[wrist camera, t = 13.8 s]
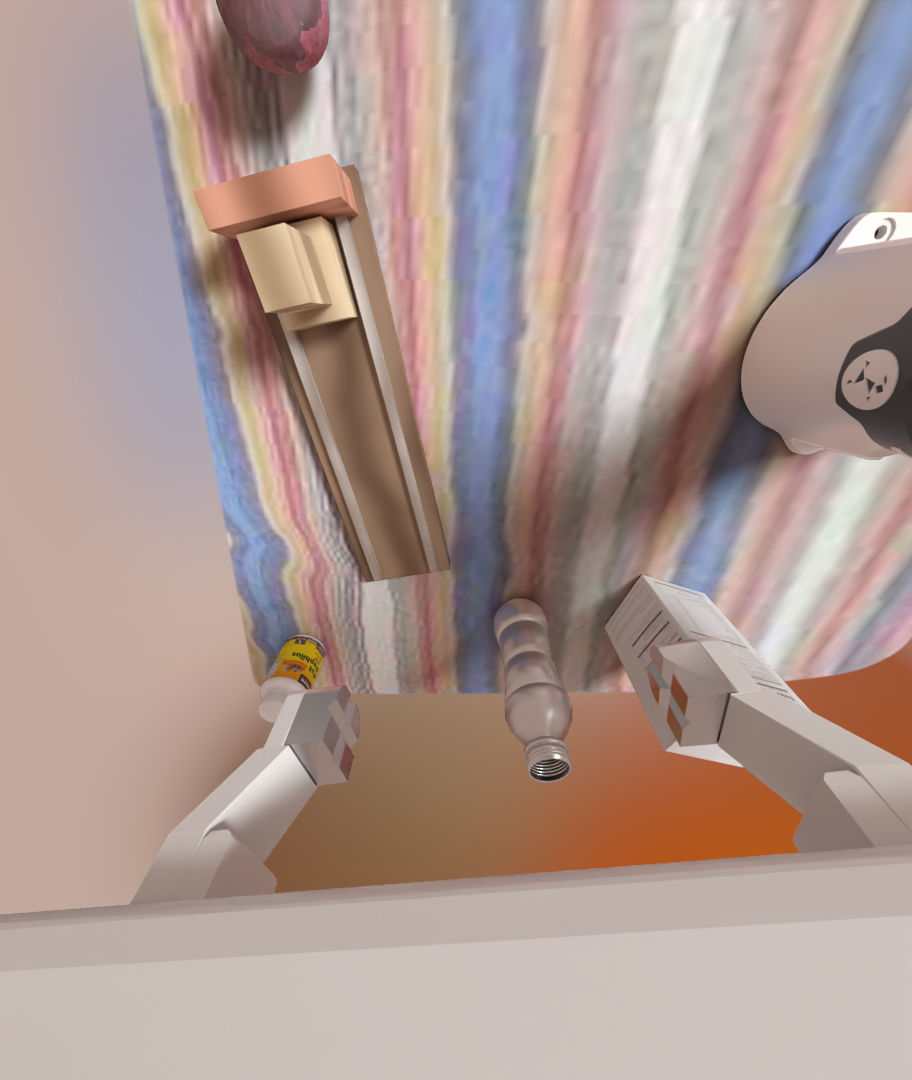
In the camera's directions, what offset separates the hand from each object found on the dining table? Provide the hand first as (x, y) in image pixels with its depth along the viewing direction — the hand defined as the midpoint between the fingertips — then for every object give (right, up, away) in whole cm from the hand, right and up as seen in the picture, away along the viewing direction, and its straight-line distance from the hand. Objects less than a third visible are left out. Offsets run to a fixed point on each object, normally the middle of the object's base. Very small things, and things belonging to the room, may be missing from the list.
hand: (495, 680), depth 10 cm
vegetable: (-12, +37, +15) cm, 41 cm away
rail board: (-10, +15, +27) cm, 33 cm away
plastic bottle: (+7, -5, +39) cm, 40 cm away
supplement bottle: (-22, -11, +43) cm, 49 cm away
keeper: (-12, +24, +20) cm, 34 cm away
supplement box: (+24, -5, +39) cm, 46 cm away
